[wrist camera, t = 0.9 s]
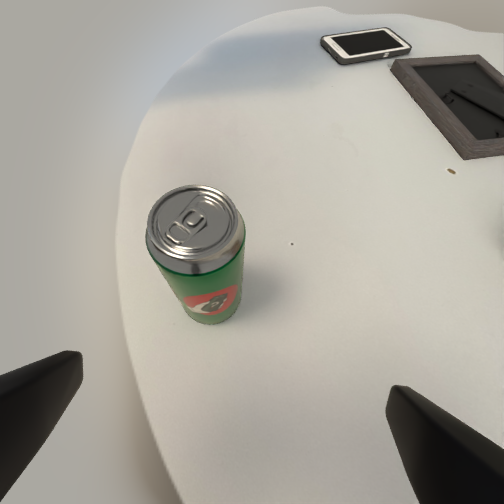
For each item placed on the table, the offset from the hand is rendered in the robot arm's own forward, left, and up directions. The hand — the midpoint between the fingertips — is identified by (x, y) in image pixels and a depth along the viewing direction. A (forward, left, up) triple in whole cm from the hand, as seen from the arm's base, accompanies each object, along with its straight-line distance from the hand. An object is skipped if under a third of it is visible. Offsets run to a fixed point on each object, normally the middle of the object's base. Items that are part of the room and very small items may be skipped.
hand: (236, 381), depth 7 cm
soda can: (+7, +1, -14) cm, 16 cm away
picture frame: (+30, -41, -14) cm, 53 cm away
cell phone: (+47, -31, -14) cm, 58 cm away
